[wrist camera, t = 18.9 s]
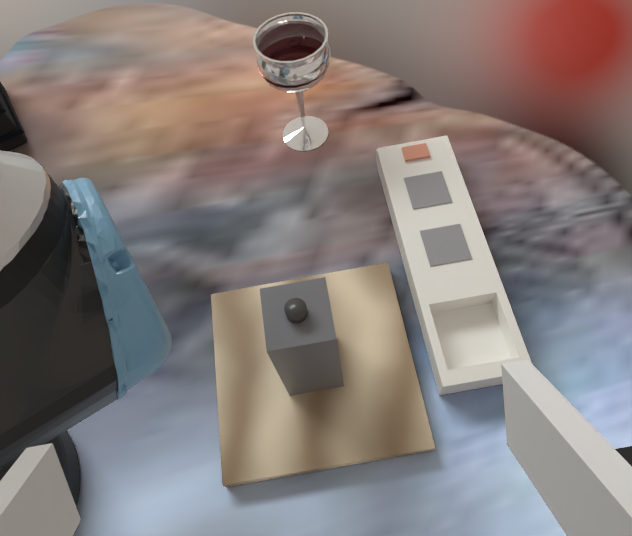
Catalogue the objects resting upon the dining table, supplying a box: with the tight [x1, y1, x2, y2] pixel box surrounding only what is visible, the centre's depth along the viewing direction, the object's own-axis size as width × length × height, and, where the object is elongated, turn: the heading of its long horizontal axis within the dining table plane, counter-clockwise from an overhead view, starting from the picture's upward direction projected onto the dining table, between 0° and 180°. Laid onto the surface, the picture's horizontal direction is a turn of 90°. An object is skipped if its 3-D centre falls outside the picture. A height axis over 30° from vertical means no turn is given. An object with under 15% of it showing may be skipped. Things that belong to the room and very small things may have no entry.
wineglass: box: [253, 12, 330, 151], centre depth 51 cm, size 7×7×12 cm
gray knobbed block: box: [260, 277, 344, 396], centre depth 37 cm, size 4×4×11 cm
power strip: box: [376, 136, 531, 395], centre depth 46 cm, size 7×24×3 cm, turn 9°
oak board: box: [211, 263, 435, 487], centre depth 43 cm, size 16×16×1 cm
